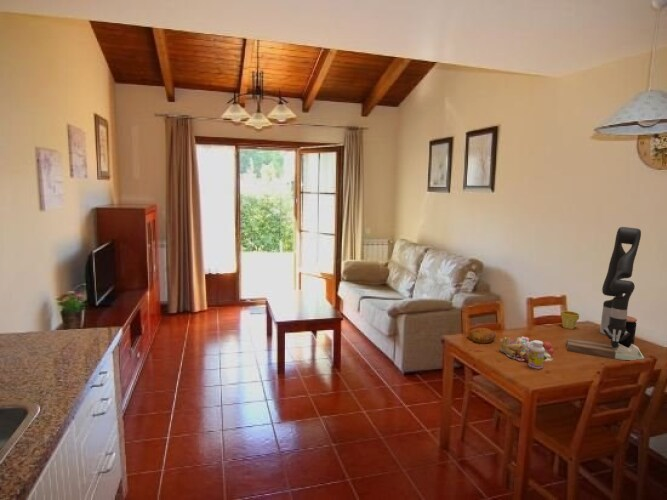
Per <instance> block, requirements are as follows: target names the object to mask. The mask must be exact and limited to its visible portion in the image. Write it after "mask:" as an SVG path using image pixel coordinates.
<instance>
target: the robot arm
mask: <svg viewBox="0 0 667 500" xmlns="http://www.w3.org/2000/svg"><path fill="white" fill-rule="evenodd" d="M641 237H642V231H641V229H640V228H635V227H629V226H620V227H619V228H618V229H617V232H616V235H615V239H614V240H615V241H614V245H613V249H612V254H611V257H610V260H609V265H608V268H607V273H606V276H605V279H604V282H603V284H602V288H601V293H602V294H603V295H604V296H607V297H613V298H612V299H608V300H604V301H603V305H602V312H601V320H600V321H601V322H600V327H599V332H600V334H602V335H606V337H607V339H608V340H610V341H611V340H612V343H611V342H610V344H611V345H612V346H613V348H616V347H618V342H619V341H623V340H624V339H626V338H627V337H628V336H630V333H629V332H628V331H626V320H627V316H628V307H629V302H630V299H631V296H632V294H633V292H634V291H635V289H636V288H635V283H634V282H633V281H632V280H626V279H630V278H631V277H632V276H633V270H634V263H635V259H636V256H637V253H638V249H639V245H640V240H641ZM623 244H625V245H631V247H630V248H629V250H628V251H627V252H626V251H625V249H624V247H623ZM624 332H625V333H624ZM623 333H624V335H623V336H622V337H620V335H622V334H623ZM615 335H616V339H615Z"/></svg>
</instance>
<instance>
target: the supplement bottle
mask: <svg viewBox="0 0 667 500" xmlns="http://www.w3.org/2000/svg"><path fill="white" fill-rule="evenodd" d="M532 341H533V345H532V346H530V352H529V361H528V362H527V363H528V364H527V365H528V367H530V368H532V369H537V370H538V369H539V370H542V369H543V367H544V362H543V361H544V352H545V351H546V349H545V348H544V347H542V346H543V344H544V342H543V341H542V340H538V339H537V340H536V339H535V340H532Z"/></svg>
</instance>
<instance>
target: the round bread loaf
mask: <svg viewBox="0 0 667 500" xmlns="http://www.w3.org/2000/svg"><path fill="white" fill-rule="evenodd" d="M496 336H497V335H496V333H495V331H493V330H492V329H490V328H487V327H476V328H472V329H470V330H469V331H468V339H469V340H470V341H473V342H475V343H477V344H482V345H483V344H487V343H491V342H492V341H494V340H495V339H496Z"/></svg>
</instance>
